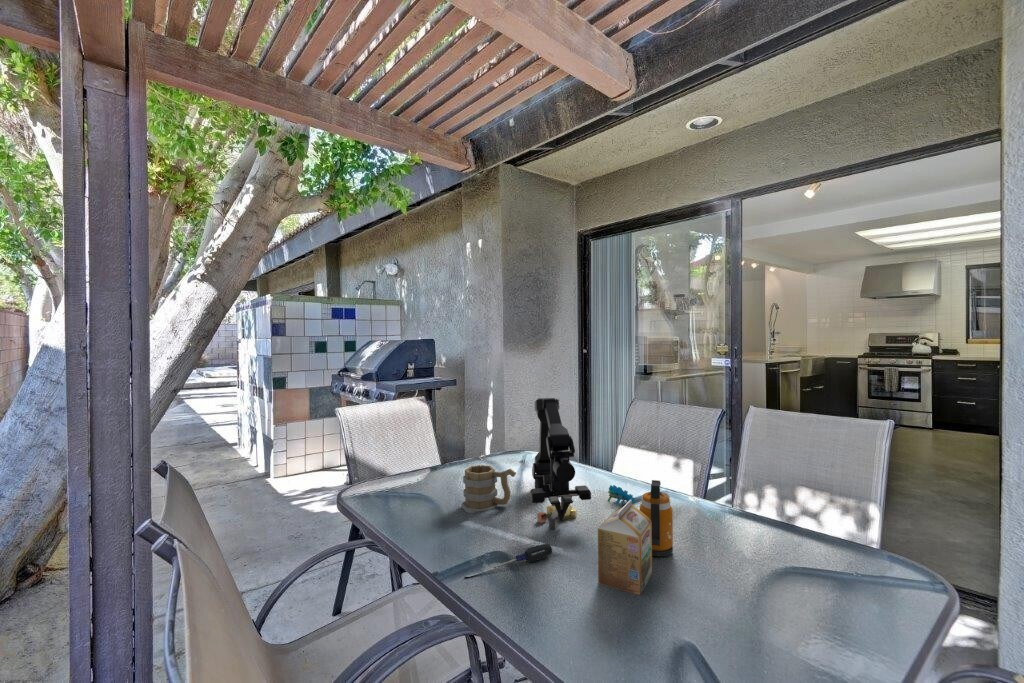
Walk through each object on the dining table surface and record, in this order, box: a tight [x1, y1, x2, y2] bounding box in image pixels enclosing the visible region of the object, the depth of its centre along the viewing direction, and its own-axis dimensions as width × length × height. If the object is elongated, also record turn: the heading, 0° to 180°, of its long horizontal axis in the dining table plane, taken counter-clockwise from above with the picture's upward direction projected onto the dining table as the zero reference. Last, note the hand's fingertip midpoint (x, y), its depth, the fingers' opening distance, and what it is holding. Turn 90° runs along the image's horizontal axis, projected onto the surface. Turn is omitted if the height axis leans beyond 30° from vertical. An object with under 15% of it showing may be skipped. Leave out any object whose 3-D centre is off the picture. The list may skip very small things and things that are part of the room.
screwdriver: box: [484, 543, 553, 570], centre depth 127 cm, size 26×4×4 cm, turn 115°
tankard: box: [461, 464, 517, 514], centre depth 168 cm, size 20×13×15 cm, turn 68°
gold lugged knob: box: [546, 502, 578, 530], centre depth 155 cm, size 16×10×3 cm, turn 159°
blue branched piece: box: [607, 484, 636, 504], centre depth 169 cm, size 11×6×10 cm
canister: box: [639, 479, 674, 557], centre depth 133 cm, size 9×11×20 cm
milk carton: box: [597, 500, 653, 596], centre depth 120 cm, size 11×11×19 cm
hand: (561, 520), depth 149 cm, fingers closed
